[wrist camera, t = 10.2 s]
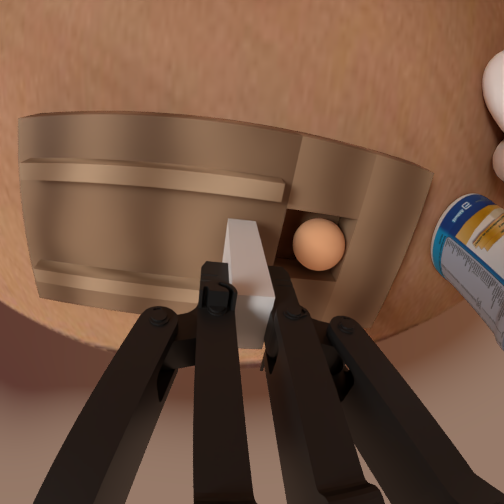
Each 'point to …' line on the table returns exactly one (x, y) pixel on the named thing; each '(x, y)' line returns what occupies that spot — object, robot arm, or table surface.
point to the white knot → (495, 103)
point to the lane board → (203, 207)
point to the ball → (318, 244)
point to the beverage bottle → (474, 256)
